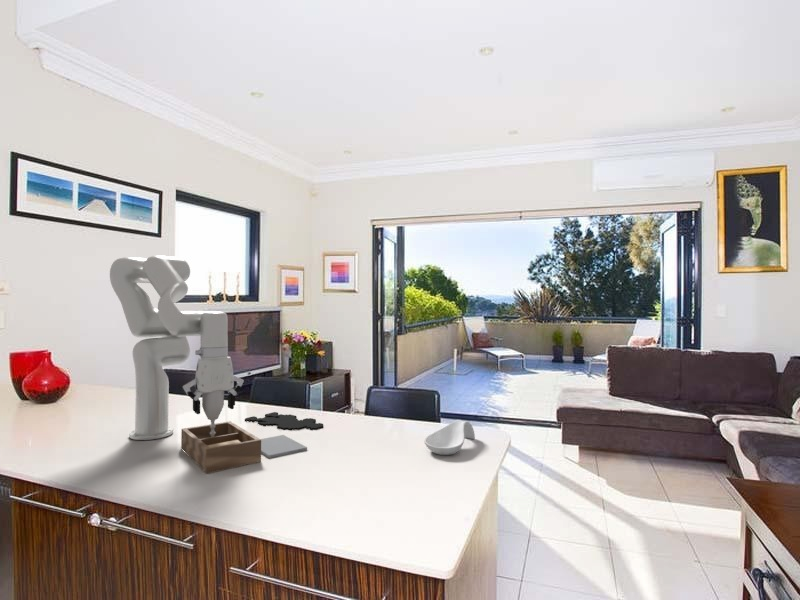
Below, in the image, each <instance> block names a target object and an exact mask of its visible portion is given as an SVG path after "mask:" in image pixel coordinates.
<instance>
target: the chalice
mask: <svg viewBox="0 0 800 600" xmlns="http://www.w3.org/2000/svg"><path fill="white" fill-rule="evenodd" d="M201 396H202V397H201V401H202V403H201V404H202V406H201V407H202V409H203V412H204V414H205V416H206V419H207V420H209V421H210V424H211V426H210V428H211V432H210V434H211V437H214V435H215V433H216V432H215V431H214V429H215V427H216V426H215V424H216V423H215V421H216V420H217V419H219V418H220V417H219V416H220V415H221V412H222V411H223V408H224V405H225V391H222V390H219V391H212V392H211V393H203V394H202V395H201Z"/></svg>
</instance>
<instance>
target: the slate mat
mask: <svg viewBox="0 0 800 600" xmlns="http://www.w3.org/2000/svg"><path fill="white" fill-rule="evenodd" d="M260 439H261V453H262V454H261V455H263V456H265V457H266V458H268V459H272V458H278V457H280V456H285V455H291V454H294V453H295V454H297V453H301V452H304V451H305V452H306V451H307V450H308V447H307V446H305V445H304V444H302V443H300V442H298V441H296V440H294V439H292V438H290V437H288V436H286V435H285V434H279V435H276V436H269V437H266V438H260Z"/></svg>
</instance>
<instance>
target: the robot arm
mask: <svg viewBox="0 0 800 600" xmlns="http://www.w3.org/2000/svg"><path fill="white" fill-rule="evenodd" d="M190 268H191V267H190V265H189V264H188V262H187V261H186V260H185V259H183V258H182V257H176V256H166V255H152V256H149V257H147V258H144V257H134V256H133V257H130V256H128V257H126V256H125V257H124V256H123V257H119V258H117V259H116V260H114V261H113V262H112V263H111V265H110V268H109V269H110V270H109V281H110V284H111V287H112V289H113V292H114V293H115V295H116V296H117V298H118V300H119V302H120V304H121V307H122V311H123V313H124V316H125V319H126V323H127V326H128V329H129V331H130V332H131V334H132V335H133V336H134V337H135V338H136V337H137V338H143V339H141V340H139V341H138V342H136V344H135V345H134V346H133V349H132V359H133V364H134V369H135V405H134V406H135V411H134V412H135V415H134V416H135V418H134V421H135V422H134V430H132V431H131V432H129V438H130V439H132V440H135V441H149V440H156V439H157V440H158V439H163V438H166V437H169V436H171V435H172V434H173V433H174V428H173V427H170V426H169V399H170V398H169V397H170V395H169V394H170V393H169V392H170V390H169V388H170V385H169V384H170V382H169V376H168V375H167V373H166V371H165V370H164V368H163V367H167V366H174V365H181V364H183V363H185V362H187V360H189V357H190V354H191V349H190V344H189V340H188V338H187V337H195V336H196V337H198V336H200V347H199V349H198V350H197V349H196V350H195V356H199V357H200V358H198V360H197V363H196V370H195V377H194V378H193V379H192V380H190V381H188V382H187V383H185V384H184V385H183V384H182V385H183V386H182V389H183V390H184V392H185V393H186V396H188V397H189V398H191V400H192V411H193V412H194V414H196V415H200V414H201V400H200V398H201V396H202V394H203V393H211V392H212V391H219V390H222V391H224V392H227V393H229V394H228V395H227V408H228V409H230V410H234V406H235V405H236V396H237V393H238V392H239V391H240V390H241V389H242V386H243V385H244V384H243V383H244V381H245V380H244V379H243V378H240V377H238V376H235V375H234V369H233V361H232V358H231V357H232V356H229V348H228V347H229V346H228V345H229V343H228V342H229V337H228V336H229V335H228V333H229V332H228V329H229V328H228V327H229V325H228V322H229V320H228V319H229V318H228V314H227V313H226V312H224V311H206V310H198V311H196V310H184V311H183V310H182V311H181V310H180V309H179V308H178V307H177V306H176V304H175V303H178V302H179V301H182V299H183V298H185V297H186V295H187V294H188V291H189V290H188V289H189V287H188V285H187V283H186V281H187V280H188V279H189V278H190V277H191V276H190V275H191V269H190ZM137 283H138V284H150V285H151V286H152V287H153V288H154V289H155V291H156V293H157V294H158V297H159V298H158V299H159V300H158V303H157V308H155V307H154V306H153V304H152V302H151V301H152V300H151V299H150V297H149V294H148V293H147V292H146V291H145V290H144V289H143V288H142V287H140V286H139V285H138V284H137ZM144 338H145V339H144ZM235 382H236V385H235ZM192 387H195V388H194V389H195V391H194V392H192V391H191V388H192Z"/></svg>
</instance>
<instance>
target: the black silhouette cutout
mask: <svg viewBox="0 0 800 600" xmlns="http://www.w3.org/2000/svg"><path fill="white" fill-rule="evenodd" d="M247 421H249V422H251V421H252V422H251V423H254V422H255V421H256V423H257V425H258V424H259V426H262V425H263V427H266V425H267V427H270V426H271V427H273V426H276V428H277V429H279V430H284V431H286V430H287V431H296V430H297V431H300V430H303V429H306V430H309V431H316V430H320V429H324V423H321V422H318V423H317V422H316V418H311V417H310V418H303V419H298V418H297V415H295V414H281V413H280V414H279V412H276V411H274V412H269V413H265V414H264V417H257V416H255V415H254V416H253V415H252V416H249V417H245V418H244V422H247Z"/></svg>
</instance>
